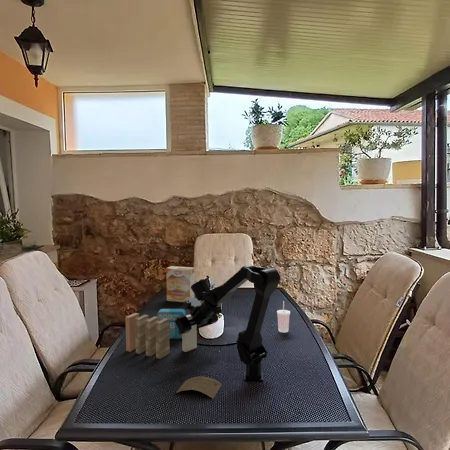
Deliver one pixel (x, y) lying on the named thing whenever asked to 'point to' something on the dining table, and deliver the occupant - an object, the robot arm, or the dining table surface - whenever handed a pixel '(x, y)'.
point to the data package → (172, 320)
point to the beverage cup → (283, 320)
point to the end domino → (131, 332)
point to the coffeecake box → (179, 283)
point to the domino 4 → (189, 338)
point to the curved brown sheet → (202, 385)
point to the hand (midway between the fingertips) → (187, 330)
